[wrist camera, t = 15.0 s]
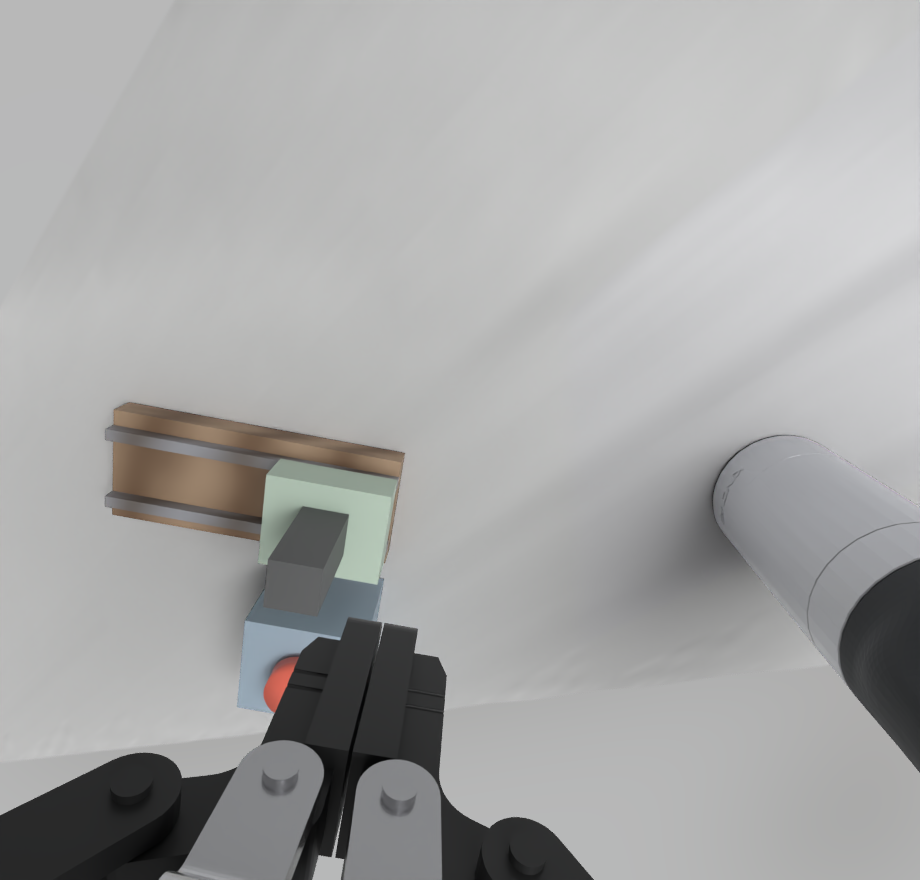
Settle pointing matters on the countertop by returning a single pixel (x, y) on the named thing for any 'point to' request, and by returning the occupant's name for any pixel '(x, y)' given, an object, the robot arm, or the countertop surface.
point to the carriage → (321, 532)
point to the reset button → (278, 682)
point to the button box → (297, 633)
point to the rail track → (216, 468)
